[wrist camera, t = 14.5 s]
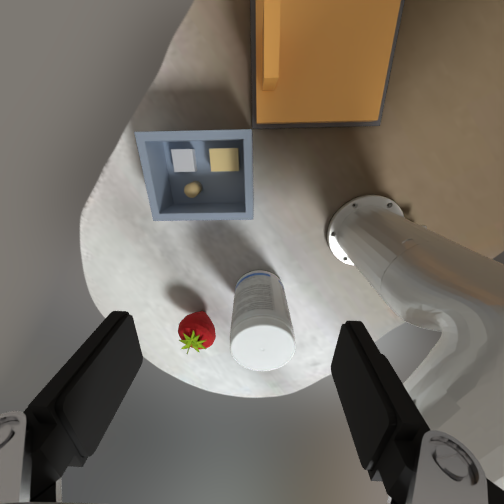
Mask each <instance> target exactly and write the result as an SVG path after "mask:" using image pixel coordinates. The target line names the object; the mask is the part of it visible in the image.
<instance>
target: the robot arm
mask: <svg viewBox="0 0 504 504" xmlns="http://www.w3.org/2000/svg"><path fill="white" fill-rule="evenodd" d="M353 204H354V205H353ZM387 204H388V205H387ZM352 205H353V206H352ZM332 232H333V233H332ZM327 241H328V245H329V248H330V250H331V251H332V253H333V254H334V256H335V257H337V258H338V259H339V260H340V261H342V262H343V263H346V264H349V265H354V266H355V267H356V268H357V269H358V270H359V271H360V273H361V274H362V275H363V276H364V277H365V279H366V280H367V281H368V282H369V283H370V285H371V286H372V287H373V288H374V289H375V291H376V292H377V293H378V294H379V295H380V297H381V298H382V299H383V300H384V301H385V303H386V304H387V305H388V306H389V307H390V308H391V310H392V311H393V312H394V313H395V314H396V315H397V316H399V317H400V318H401V319H403V320H404V321H406V322H408V323H410V324H412V325H415V326H418V327H421V328H425V329H430V330H435V331H442V336H441V338H440V340H439V341H438V342H437V344H436V345H435V346H434V348H433V349H432V350H431V351H430V353H429V355H428V356H427V357H426V358H425V360H424V361H423V362H422V363H421V364H420V365H419V366H418V367H417V369H416V370H415V371H414V372H413V373H412V374H411V376H410V377H409V378H408V379H407V380H406V381H405V382H404V383H403V384H402V382H401V380H400V379H399V377H398V376H397V374H396V372H395V371H394V369H393V367H392V366H391V364H390V363H389V361H388V359H387V358H386V357H385V356H384V355H383V354H381V353H380V352H379V350H378V348H377V346H376V345H375V343H374V341H373V340H372V338H371V336H370V334H369V333H368V331H367V329H366V328H365V326H364V324H363V323H362V322H361V321H346V323H345V324H342V326H341V330H340V334H339V337H338V341H337V345H336V349H335V352H334V356H333V360H332V364H331V373H332V376H333V379H334V382H335V385H336V388H337V391H338V395H339V398H340V401H341V404H342V407H343V410H344V413H345V416H346V419H347V422H348V425H349V428H350V432H351V434H352V438H353V440H354V444H355V447H356V450H357V453H358V456H359V459H360V462H361V465H362V467H363V468H364V469H365V470H368V473H369V476H370V479H371V481H383V484H384V486H385V489H386V492H387V494H388V495H389V497H388V502H387V504H504V264H502V263H499V262H497V261H494V260H492V259H490V258H488V257H485V256H483V255H481V254H479V253H476V252H474V251H472V250H470V249H468V248H466V247H464V246H462V245H460V244H458V243H455V242H453V241H451V240H449V239H447V238H445V237H443V236H441V235H439V234H437V233H435V232H433V231H431V230H428V229H427V227H426V226H425V225H418V224H416V223H414V222H412V221H410V220H408V219H406V218H404V215H403V212H402V210H401V209H400V207H399V206H398V205H397V204H396V203H395V202H394V201H392V200H390V199H389V198H386V197H383V196H379V195H365V196H360V197H357V198H355V199H352V200H351V201H349V202H347V203H346V204H345V205H343V206H342V207H341V208H340V209H339V210H338V211H337V212H336V213H335V215H334V216H333V218H332V219H331V221H330V224H329V227H328V231H327ZM142 360H143V356H142V352H141V348H140V344H139V340H138V336H137V332H136V328H135V324H134V320H133V317H132V315H129V313H128V312H126V311H113V312H111V313H110V314H109V315H108V316H107V318H106V319H105V320H104V321H103V322H102V323H101V324H100V326H99V327H98V328H97V329H96V330H95V331H94V332H93V333H92V335H91V336H90V337H89V338H88V339H87V340H86V341H85V342H84V344H83V345H82V346H81V347H80V348H79V349H78V350H77V352H75V354H74V355H73V356H72V357H71V358H70V359H69V360H68V361H67V363H66V364H65V365H64V366H63V367H62V368H61V369H60V370H59V372H58V373H57V374H56V375H55V376H54V377H53V378H52V380H51V381H50V382H49V383H48V384H47V385H46V386H45V387H44V388H43V390H42V391H41V392H40V393H39V394H38V395H37V396H36V397H35V399H34V400H33V401H32V402H31V403H30V404H29V406H28V408H27V409H26V410H25V411H24V412H20V411H11V412H6V413H4V414H1V415H0V504H93V503H62V481H61V477H62V475H63V473H64V472H65V470H66V468H67V467H68V466H76V467H83V465H84V463H85V461H86V460H87V458H88V456H91V455H92V454H93V453H94V452H95V450H96V449H97V447H98V445H99V443H100V441H101V439H102V438H103V436H104V434H105V432H106V430H107V428H108V426H109V424H110V423H111V421H112V419H113V417H114V415H115V413H116V411H117V409H118V408H119V406H120V404H121V402H122V400H123V398H124V396H125V395H126V393H127V391H128V389H129V387H130V385H131V383H132V381H133V380H134V378H135V376H136V374H137V372H138V370H139V368H140V367H141V364H142Z"/></svg>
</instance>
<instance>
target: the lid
mask: <svg viewBox="0 0 504 504" xmlns="http://www.w3.org/2000/svg"><path fill="white" fill-rule="evenodd" d="M400 2H401V0H256V107H257V124H287V123H332V122H371V121H376V120H378V117H379V111H380V106H381V101H382V96H383V91H384V85H385V80H386V75H387V70H388V65H389V60H390V54H391V49H392V44H393V39H394V34H395V28H396V23H397V18H398V13H399V8H400Z"/></svg>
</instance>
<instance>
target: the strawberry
mask: <svg viewBox="0 0 504 504" xmlns="http://www.w3.org/2000/svg"><path fill="white" fill-rule="evenodd" d="M178 334H179V336H180V338H181V339H182V340H179V341H181V342H183V343H184V344H186V345H185V346H184V347H183V348H181V349H187V348H190V347H192V348H194V349H195V350H197V351H198V352H199V350H198V349H206V348H208V347H210V346H211V345H212V344H213V342H214V340H215V337H216V335H215V328H214V325H213V323H212V321H211V319H210V318H209V317H208V315H207V314H206V313H205V312H204V311H200V312H195V313H192V314H189V315H187V316H186V317H185V318H184V319H183V320H182V321H181V322H180V324H179V328H178ZM188 351H189V349H188ZM187 354H188V352H187Z"/></svg>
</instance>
